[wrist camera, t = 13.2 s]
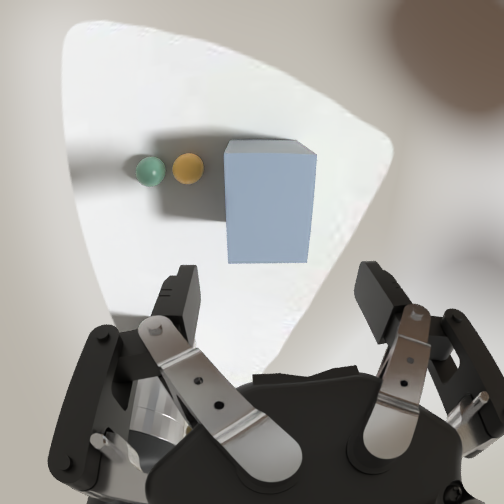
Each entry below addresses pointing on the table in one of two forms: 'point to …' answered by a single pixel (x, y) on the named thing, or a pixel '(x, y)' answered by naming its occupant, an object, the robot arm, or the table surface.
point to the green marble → (150, 171)
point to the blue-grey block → (268, 200)
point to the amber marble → (188, 168)
